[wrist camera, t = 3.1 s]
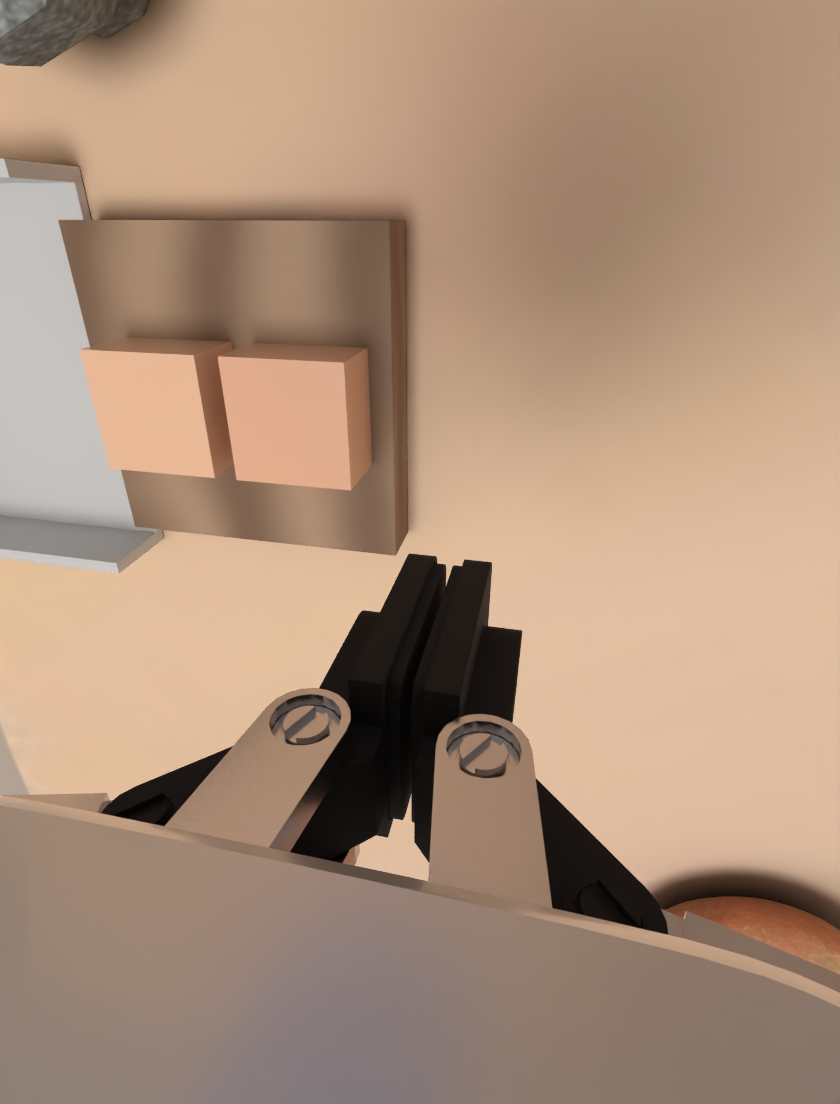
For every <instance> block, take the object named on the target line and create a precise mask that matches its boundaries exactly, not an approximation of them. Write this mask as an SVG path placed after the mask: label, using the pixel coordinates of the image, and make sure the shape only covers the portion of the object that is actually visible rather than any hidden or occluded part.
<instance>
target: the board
mask: <svg viewBox="0 0 840 1104" xmlns="http://www.w3.org/2000/svg"><path fill="white" fill-rule="evenodd" d="M58 222H59V225H60V229H61V233H62V237H63V241H64V245H65V249H66V253H67V257H68V261H69V265H70V269H71V273H72V277H73V281H74V285H75V289H76V293H77V297H78V301H79V305H80V309H81V313H82V317H83V321H84V325H85V329H86V333H87V337H88V341H89V345H90V347H91V346H95V345H98V344H102V343H106V342H110V341H114V340H118V339H121V338H125V337H137V338H159V339H182V340H204V341H227V342H232V348H233V350H236V349H238V348H241V347H243V346H246V345H249V344H251V343H272V344H295V345H318V346H340V347H363V348H368V368H369V395H370V421H371V448H372V465H371V467H370V468H369V469H368V470H367V472H366V473H365V474H364V475H363V476H362V478H361V479H360V480H359V481H358V483H357V484H356V485H355V486H354V487H353V489H352V490H340V489H329V488H318V487H307V486H296V485H285V484H274V483H263V482H252V481H241V480H237V479H236V473H235V467H234V465H232V466H231V467H229V468H228V469H227V470H225V471H224V472H223V473H221V474H220V475H218V476H217V477H216V478H208V477H197V476H186V475H175V474H164V473H153V472H142V471H131V470H121V472H122V476H123V480H124V484H125V488H126V492H127V496H128V500H129V504H130V508H131V512H132V516H133V520H134V524H135V527H142V528H151V529H160V530H169V531H178V532H187V533H196V534H206V535H215V536H224V537H233V538H242V539H251V540H260V541H269V542H278V543H287V544H296V545H305V546H314V547H323V548H332V549H341V550H350V551H360V552H369V553H378V554H387V555H396V554H397V552H398V550H399V548H400V546H401V544H402V542H403V541H404V539H405V537H406V535H407V533H408V494H407V368H406V242H405V221H289V220H58Z"/></svg>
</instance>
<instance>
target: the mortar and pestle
mask: <svg viewBox="0 0 840 1104" xmlns="http://www.w3.org/2000/svg"><path fill="white" fill-rule="evenodd" d="M148 2H149V0H0V63H2V64H5V65H14V66H42V65H44V64H46V63H47V62H49V61H50V60H52V59H53V58H55V57H56V56H58V55H59V54H61V53H63V52H64V51H66V50H67V49H69V48H70V47H72V46H73V45H75V44H77V43H78V42H80V41H81V40H83V39H84V38H86V37H87V36H89V35H90V34H94V35H97V36H100V37H103V38H105V39H107V38H108V37H110V36H112V35H113V34H115V33H116V32H118V31H119V30H121V29H123V28H124V27H126V26H127V25H129V24H130V23H132V22H134V21H135V20H137V19H138V18H140V17H141V16H143V15H145V12H146V8H147V5H148Z"/></svg>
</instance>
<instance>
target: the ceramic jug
mask: <svg viewBox="0 0 840 1104" xmlns="http://www.w3.org/2000/svg"><path fill="white" fill-rule="evenodd" d="M665 911H668V912H670V913H672V914H675V915H677V916H679V917H682V918H683V917H684V915H685V912H686V911H688V912H691V913H693V914H696V915H698V916H700V917H703V918H705V919H708V920H710V921H713V922H715V923H717V924H720V925H722V926H725V927H727V928H729V929H732V930H734V931H737V932H739V933H741V934H744V935H746V936H749V937H751V938H753V939H756V940H758V941H761V942H763V943H765V944H768V945H770V946H773V947H775V948H777V949H780V950H782V951H785V952H787V953H789V954H792V955H794V956H797V957H799V958H802V959H804V960H806V961H809V962H811V963H814V964H816V965H818V966H821V967H823V968H826V969H828V970H830V971H833V972H835V973H838V974H840V930H839V929H837V928H836V927H834V926H833V925H831V924H829V923H828V922H826V921H824V920H823V919H820V918H818V917H816V916H814V915H812V914H810V913H808V912H806V911H803V910H800V909H797V908H795V907H792V906H789V905H786V904H783V903H779V902H776V901H771V900H766V899H761V898H753V897H740V896H722V897H709V898H701V899H696V900H691V901H687V902H683V903H680V904H678V905H675V906H673V907H670V908H668V909H666V910H665Z"/></svg>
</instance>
